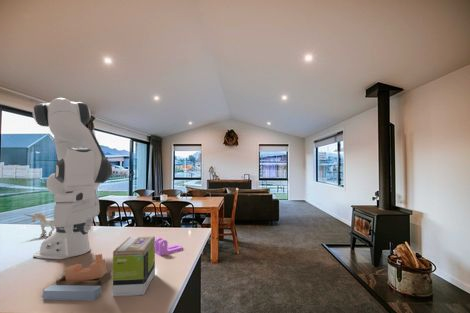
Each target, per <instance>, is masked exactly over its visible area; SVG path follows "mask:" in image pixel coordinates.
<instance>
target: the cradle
mask: <svg viewBox="0 0 470 313" xmlns="http://www.w3.org/2000/svg"><path fill="white" fill-rule="evenodd" d="M111 276H112V270H107V273H106V274H105V275H104V276H103V277H101V278H97V279H92V280H86V281H66V277H65V274H64V275H63V276H61V277H60V278H58V279H57V280H56V281H55V285H79V286H102V285H104V283H106V281H108V279H109V278H111Z"/></svg>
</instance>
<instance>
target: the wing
mask: <svg viewBox="0 0 470 313" xmlns="http://www.w3.org/2000/svg"><path fill="white" fill-rule="evenodd" d="M101 286H102V285H101ZM101 286H79V285H56V284H52V285H50V286H49V287H47V288H45V289H44V290H42V291H43V292H42V300H52V301H53V300H56V301H58V300H61V301H95V300H96V299H97V298H98V297H99V296H100V295H101V292H102V291H101V288H102V287H101Z"/></svg>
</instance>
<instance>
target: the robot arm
mask: <svg viewBox="0 0 470 313" xmlns="http://www.w3.org/2000/svg"><path fill="white" fill-rule="evenodd" d="M91 116H92V112H91V109H90V107H89V105H88V104H86V103H85V102H81V101H77V102H75V101H71V100H69V99H68V98H64V97H58V98H54V99H52V100H51V101H50V102H46V103H44V102H40V103H37V104H35V105H34V106H33V110H32V117H33V119H34V121H35V122H36V124H37V125H39V126H41V127H48V128H49V131H50V132H51V133H52V135H53V139H54V140H53V142H54V147H55V153H56V159H57V162H56V163H55V164H54V167H55V171H54V173H52V174H50V175H49V176H48V177H47V179H46V182H45V183H46V188H47V190H48V192H50V193H51V194H52V195H54V196H53V203H55V204H54V209H53V219H54V224H55V226H56V227H55V226H54V230H55V229H56V228H57V230H56V231H54V233H53V232H52V234H51V236H49V235H48V237H47V238H45V239H44V240H43V241H42V242H41V243H40V244H41V245H40V247H39V250H38V251H36V252H35V253H34V254H33V256H32V257H33V258H34V257H36V258H35V259H37V258H38V259H49V260H51V259H52V260H65V259H68V258H71V257H72V258H73V257H77V256H81V255H84V254H87V253H88V252H90V251H91V250H92V247H91V246H90V239H89V231H91V229H92V224H93V222H94V217H97V216H99V214H100V211H101V210H100V201H99V197H98V195H97V193H96V189H97V188H99V186H100V184H104V183H106V181H108V180H109V179H110V178H111V177H112V174H113V167H112V164H111V161H110V160H109V159H108V158H107V157H106V155H105V153H104V151H103V149H102V147H101V145H100V143H99V141H98V139H97V138H96V135H95V134H94V132H93V131H92V130H91V129H90V128H88V127H86V125H87V124H88V123H89V122H90V121H91V120H90V119H91Z"/></svg>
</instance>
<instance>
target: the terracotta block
mask: <svg viewBox="0 0 470 313" xmlns="http://www.w3.org/2000/svg"><path fill="white" fill-rule="evenodd" d="M94 258H95V261H93V262H92V263H90V264H89V265H90V266H89V267H85V268H82V264H81V263H77V264H72V265H69V266H68V267H66V268H65V269H64V275H65V277H66V281H92V280H97V279H100V278H101V277H103V276H104V275H105V274H106V273H107V271H108V270H107V265H106V264H107V263H106V259H105V258H103V253H98V254H95V257H94Z"/></svg>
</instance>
